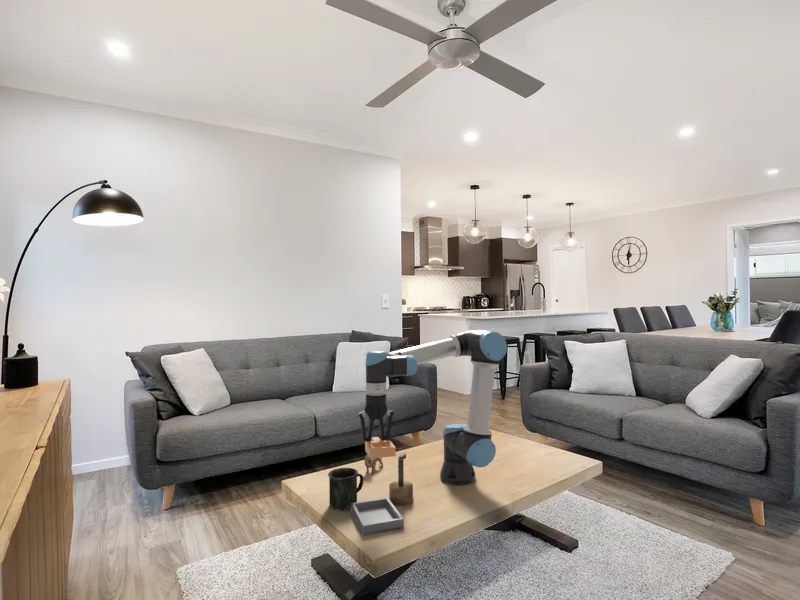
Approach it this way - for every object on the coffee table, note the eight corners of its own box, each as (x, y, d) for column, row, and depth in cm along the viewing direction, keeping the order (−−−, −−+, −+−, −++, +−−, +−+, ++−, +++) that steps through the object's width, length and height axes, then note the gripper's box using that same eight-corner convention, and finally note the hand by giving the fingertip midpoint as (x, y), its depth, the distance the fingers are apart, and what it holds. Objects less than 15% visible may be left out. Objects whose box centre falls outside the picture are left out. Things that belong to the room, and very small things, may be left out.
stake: (395, 494, 174) (395, 449, 174) (416, 498, 170) (416, 452, 171) (385, 503, 166) (384, 456, 166) (406, 507, 162) (406, 460, 162)
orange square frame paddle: (362, 446, 161) (362, 437, 161) (386, 444, 164) (386, 436, 164) (369, 458, 148) (369, 449, 148) (395, 456, 150) (395, 447, 150)
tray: (387, 505, 164) (387, 497, 164) (403, 527, 147) (403, 518, 147) (351, 511, 160) (351, 503, 160) (363, 535, 143) (363, 525, 143)
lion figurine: (373, 477, 192) (372, 456, 192) (362, 476, 194) (361, 455, 194) (385, 465, 206) (384, 446, 206) (374, 464, 208) (374, 445, 208)
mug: (322, 504, 166) (322, 472, 166) (354, 493, 175) (354, 463, 175) (338, 514, 157) (338, 480, 158) (371, 502, 167) (370, 470, 167)
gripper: (356, 396, 155) (356, 463, 154) (399, 394, 159) (399, 460, 158) (353, 392, 162) (353, 457, 162) (394, 390, 166) (394, 453, 166)
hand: (375, 458), depth 160 cm, fingers closed on orange square frame paddle, 3 cm apart
